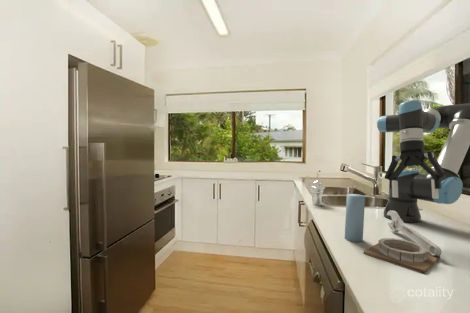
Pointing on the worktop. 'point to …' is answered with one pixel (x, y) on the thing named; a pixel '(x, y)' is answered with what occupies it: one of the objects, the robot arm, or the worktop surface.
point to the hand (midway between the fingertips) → (414, 198)
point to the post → (354, 217)
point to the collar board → (403, 263)
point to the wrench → (412, 234)
